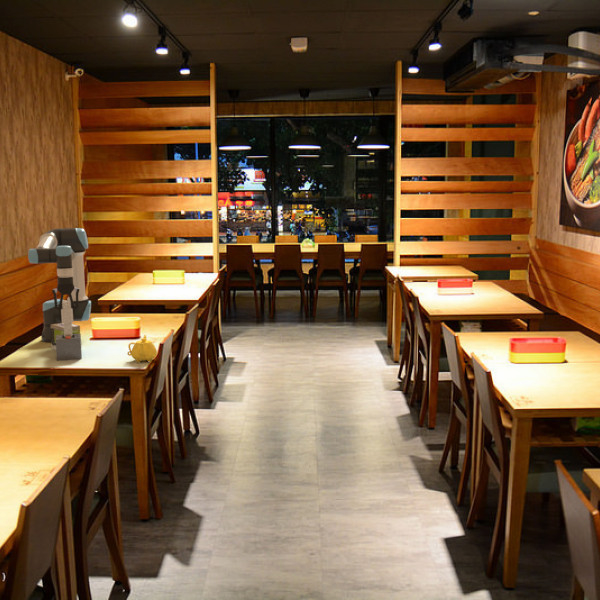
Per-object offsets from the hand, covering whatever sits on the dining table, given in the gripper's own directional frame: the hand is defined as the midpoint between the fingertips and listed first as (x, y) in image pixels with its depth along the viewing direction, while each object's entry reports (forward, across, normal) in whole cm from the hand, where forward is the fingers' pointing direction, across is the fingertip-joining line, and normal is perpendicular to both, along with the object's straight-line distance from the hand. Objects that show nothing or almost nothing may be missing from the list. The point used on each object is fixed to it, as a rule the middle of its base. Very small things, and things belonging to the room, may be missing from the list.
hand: (67, 321), depth 357 cm
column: (+13, 0, 0) cm, 13 cm away
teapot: (+20, +36, -13) cm, 43 cm away
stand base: (+20, 0, 0) cm, 20 cm away
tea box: (+20, -2, +20) cm, 28 cm away
